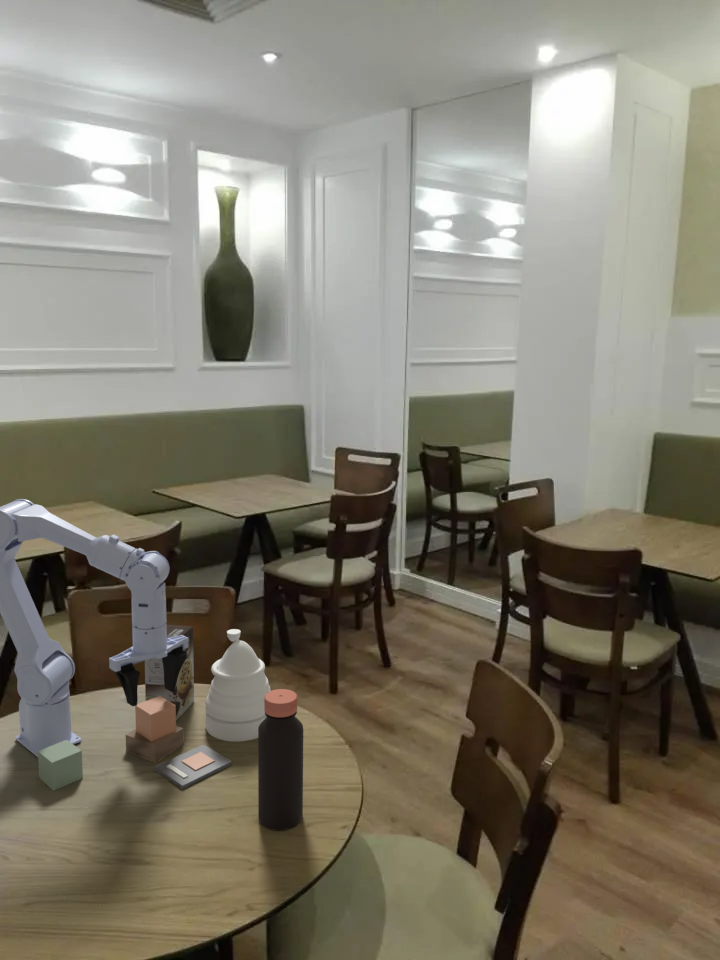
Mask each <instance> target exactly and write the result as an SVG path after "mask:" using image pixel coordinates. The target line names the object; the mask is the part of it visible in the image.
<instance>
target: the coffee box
mask: <svg viewBox="0 0 720 960" xmlns="http://www.w3.org/2000/svg"><path fill="white" fill-rule="evenodd" d="M166 627H167V638H170V637H176V636H180V635H183V636H185V637H187V638H188V648H186V649H183V651H185V652H187V659H186V660H185V662H184V664H183V665H182V668H181V670H180V672H179V675H178V679H177V682H176V687H175V691H173V692H171V691H169V690H167V689H165V685H164V668H163V662H162V658H161V659H156V658H152V659H148V660H145V661H144V687H145V689H144V690H145V697H144V699H145V701H147V700H150V699H153V698H156V697H158V696H161V697H163V698H164V699H166V700H168V701H169V702H171V703H173V704H174V705H176V721H177V720H178V719H180V717H181V716H182V715H183V714H184V713H186V711H187V709H189V708H190V707H191V705H193V703H194V702H195V681H194V679H195V678H194V674H195V673H194V672H195V671H194V669H195V668H194V667H195V666H194V626H191V625H180V624H166Z"/></svg>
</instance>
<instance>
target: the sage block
mask: <svg viewBox="0 0 720 960" xmlns="http://www.w3.org/2000/svg"><path fill="white" fill-rule="evenodd" d="M82 755H83V751H82V750H81V749H80V748H79V747H78V746H76V744H74V745H73V744H72V743H71V742H69V741H68V740H65V741H62V742H60V743H57V744H55V745H52V746H49V747H47V748H44V749H42V750H39V751H38V757H37V761H38V777H39V779H40V778H41V779H42V780H41V779H40V780H41V781H42V782H43V781H44V782H45V783H46V784H47V785H46V784H45V783H44V782H43V783H44V784H45V785H46V786H48V787H49V788H50V790H52V791H56V790H58V789H61V788H63V787H66V786H68V785H70V784H72V782H73V783H74V782H77V781H79V780H82V779H83V778H84V776H83V775H84V773H83V770H84V769H83V756H82ZM81 778H82V779H81ZM78 779H79V780H78Z"/></svg>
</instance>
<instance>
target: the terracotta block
mask: <svg viewBox="0 0 720 960" xmlns="http://www.w3.org/2000/svg"><path fill="white" fill-rule="evenodd" d="M134 708H135V711H134V712H135V729H136V731H137V732H138V733H140V734H141V735H142V736H144V737H145V738H147V739H148V740H150V741H154V740H156V739H159V738H161V737H164V736H166V735H168V734H171V733H173V732H176V726H177V720H176V705H174V704H173V703H171V702H169V701H168V700H166V699H164V698H163V697H161V696H158V697H156V698H153V699H150V700H147V701H146V700H145V701H143V702H140V703H137V705H136V706H134Z"/></svg>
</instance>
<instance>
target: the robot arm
mask: <svg viewBox="0 0 720 960" xmlns="http://www.w3.org/2000/svg"><path fill="white" fill-rule="evenodd" d="M36 539H44V540H46V541H50V542H52V543H54V544H56V545H59V546H62V547H64V548H66V549H69V550H72V551H74V552H78V553H80V554H82V555H84V556H86V559H87V561H88V564H89V565H90V566H91V567H93V568H96V569H97V570H100V571H103V572H104V573H106V574H109V575H111V576H112V577H115V578H117V579H120V580H121V581H124V582H125V585H126V586H127V588H128V589H129V590H130V592H131V593H130V594H131V599H130V600H131V626H132V627H131V630H132V646H131V647H129V648H127V649H126V650H123V651H122V652H120V653H118V654H116V655H113V656H112V657H109V658H108V663H109V665H108V666H109V669H110V670H111V671H112V672H113V673H114V674H115V677H117V680H118V681H119V683H120V685H121V687H122V689H123V692H124V695H125V700H126V703H127V704H128V705H130V706H131V707H135V706H136V705H137V704H138V702H139V701H138V684H139V679H140V675H141V671H139V670H137V669H136V667H135V666H134V665H136V664H138V663H141V662H145V660H148V659H152V658H156V659H161V658H162V662H163V668H164V685H165V689H167V690H169V691H171V692H173V691H175V687H176V682H177V679H178V675H179V672H180V670H181V668H182V665H183V664H184V662H185V660H186V659H187V652H185V651H183V649H186V648H188V638H187V637H185V636H183V635H180V636H176V637H170V638H167V627H166V625H167V598H166V597H167V596H166V582H164V581H165V580H167V578H168V576H169V573H170V569H171V567H170V564H169V563H170V562H169V561H168V559H167V558H166V557H165V556H164V555H162V554H161V553H160V552H159V551H157V550H150V551H145V549H143V548H141V547H139V548H135V547H134V546H131V545H129V544H127V543H125V542H123V541H120V536H118V535H116V534H112V535H107V534H103V535H101V536H98V537H96V536H94V535H92V534H90V533H89V532H87V531H84V530H83V529H81V528H79V527H77V526H75V525H74V524H71V523H70V522H68V521H67V520H64V519H63V518H60V517H59V516H57V515H55V514H53V513H51V512H49V511H48V510H47V508H45V507H44V506H43V505H42V504H41V505H40V504H35V503H34V502H32V501H31V500H29V499H24V498H18V499H14V500H12V501H11V502H9V503H6V504H4V505H2V506H0V615H1V618H2V621H3V622H4V624H5V627H6V629H7V631H8V634H9V636H10V638H11V640H12V643H13V645H14V646H15V650H16V652H17V656H16V661H15V664H14V669H13V671H14V674H15V676H16V679H17V684H16V685H17V686H16V688H17V693H18V695H19V696H20V698H21V699H20V700H19V703H18V711H19V712H18V715H19V729H20V730H19V731H20V734H18V735H16V736H15V740H16V741H17V742H19V743H20V744H21V745H22V746H23V747H25V748H26V749H27V750H28V751H30V752H31V753H32V754H33V755H35V756H36V757H37V758H38V751H39V750H42V749H44V748H47V747H49V746H52V745H55V744H57V743H60V742H62V741H65V740H68V741H69V742H71V743H72V744H73V745H76V744H78V743H79V744H80V743H81V742H82V738H81V737H80V736H78V735H77V734H76V733H74V732H73V731H72V718H71V717H72V716H71V714H72V712H71V697H70V695H71V693H70V680H71V679H73V676H74V675H75V671H76V665H75V662H74V660H73V659H72V658H71V656H70V655H69V654H68V653H67V652H65V650H64V649H63V647H62V645H61V643H60V642H59V641H56V640H54V639H52V638H50V637H49V635H48V632H47V631H46V628H45V626H44V623H43V621H42V619H41V616H40V614H39V611H38V609H37V607H36V604H35V602H34V600H33V598H32V596H31V593H30V591H29V589H28V587H27V584H26V581H25V579H24V577H23V575H22V573H21V570H20V569H19V566H18V564H17V561H16V559H15V558H16V555H17V554H18V552H19V550H20V549H21V546H22V544H23V542H25V541H32V540H36Z"/></svg>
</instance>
